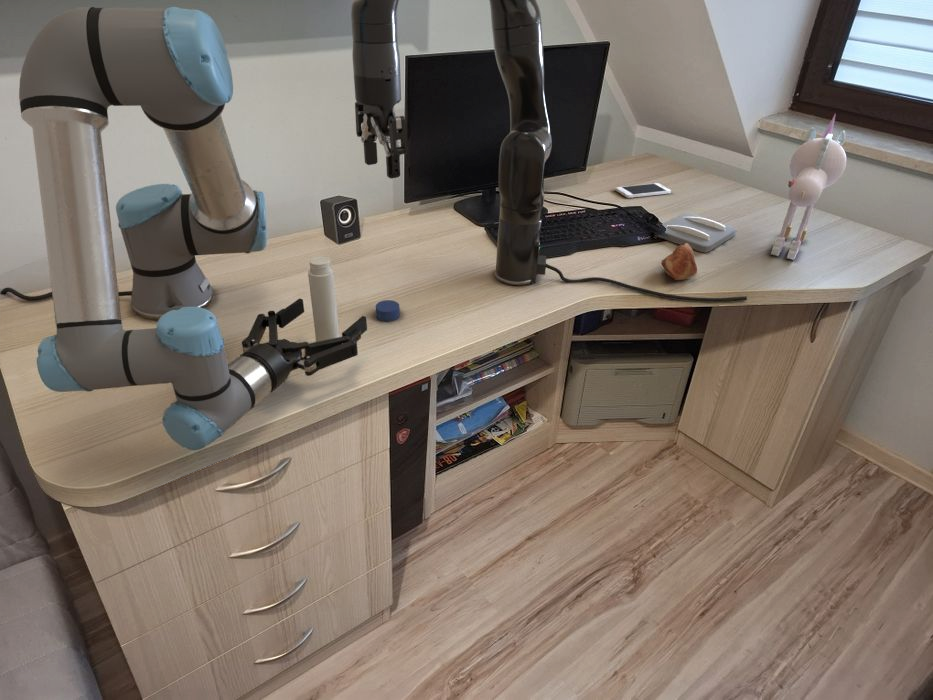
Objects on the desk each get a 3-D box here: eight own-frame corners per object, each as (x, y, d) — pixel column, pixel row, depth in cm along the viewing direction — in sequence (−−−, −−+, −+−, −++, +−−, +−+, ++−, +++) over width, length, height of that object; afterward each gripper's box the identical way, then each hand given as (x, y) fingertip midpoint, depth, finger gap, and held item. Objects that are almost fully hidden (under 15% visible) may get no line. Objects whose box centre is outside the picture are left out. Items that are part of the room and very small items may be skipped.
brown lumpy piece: (670, 275, 139) (676, 230, 139) (641, 277, 146) (647, 234, 147) (708, 285, 146) (713, 242, 146) (678, 286, 153) (683, 245, 153)
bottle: (332, 358, 115) (323, 267, 105) (312, 352, 117) (301, 262, 107) (345, 346, 119) (337, 257, 109) (325, 341, 120) (315, 252, 110)
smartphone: (614, 190, 195) (615, 187, 194) (657, 185, 199) (658, 182, 199) (627, 198, 189) (628, 195, 189) (671, 193, 194) (671, 190, 193)
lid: (379, 308, 131) (378, 299, 130) (401, 310, 130) (401, 301, 129) (373, 320, 127) (372, 310, 126) (396, 322, 126) (396, 312, 125)
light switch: (708, 241, 156) (653, 223, 165) (705, 253, 158) (650, 234, 167) (740, 223, 167) (687, 206, 176) (737, 234, 169) (684, 217, 178)
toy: (826, 222, 178) (867, 110, 161) (806, 269, 152) (852, 142, 135) (779, 212, 183) (814, 103, 167) (751, 256, 157) (789, 132, 141)
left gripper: (197, 373, 106) (279, 315, 122) (323, 416, 97) (393, 348, 114) (188, 335, 101) (274, 280, 118) (318, 377, 93) (391, 312, 109)
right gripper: (337, 66, 106) (345, 163, 115) (376, 81, 96) (381, 185, 105) (377, 62, 110) (382, 157, 119) (419, 76, 100) (421, 178, 109)
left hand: (332, 313), depth 116 cm, fingers open, 13 cm apart
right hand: (382, 170), depth 112 cm, fingers open, 8 cm apart
